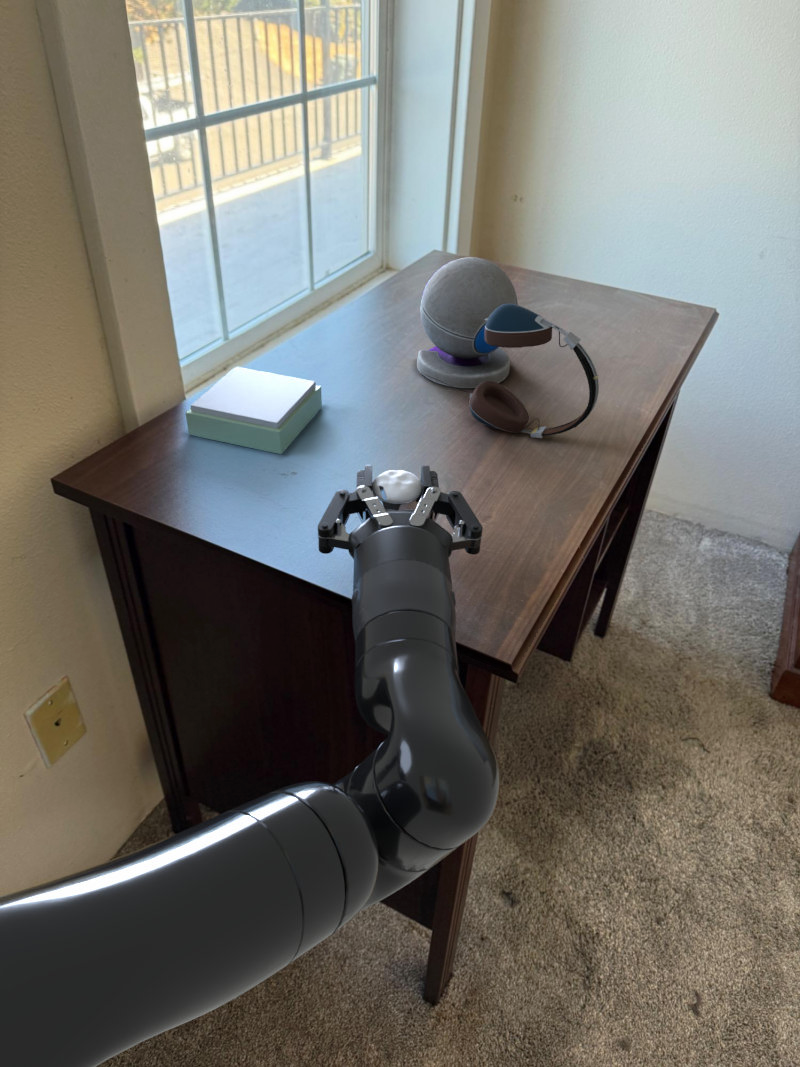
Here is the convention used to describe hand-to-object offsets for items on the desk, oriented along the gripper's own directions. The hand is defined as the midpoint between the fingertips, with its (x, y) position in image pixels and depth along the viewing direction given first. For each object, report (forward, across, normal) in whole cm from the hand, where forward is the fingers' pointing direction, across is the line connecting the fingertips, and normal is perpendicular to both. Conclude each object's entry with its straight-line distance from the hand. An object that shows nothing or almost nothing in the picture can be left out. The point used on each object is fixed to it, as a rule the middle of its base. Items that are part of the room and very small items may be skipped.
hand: (396, 473), depth 69 cm
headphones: (+23, +14, -8) cm, 28 cm away
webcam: (+39, +11, -8) cm, 41 cm away
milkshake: (-3, 0, -8) cm, 9 cm away
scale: (+23, -16, -8) cm, 30 cm away
